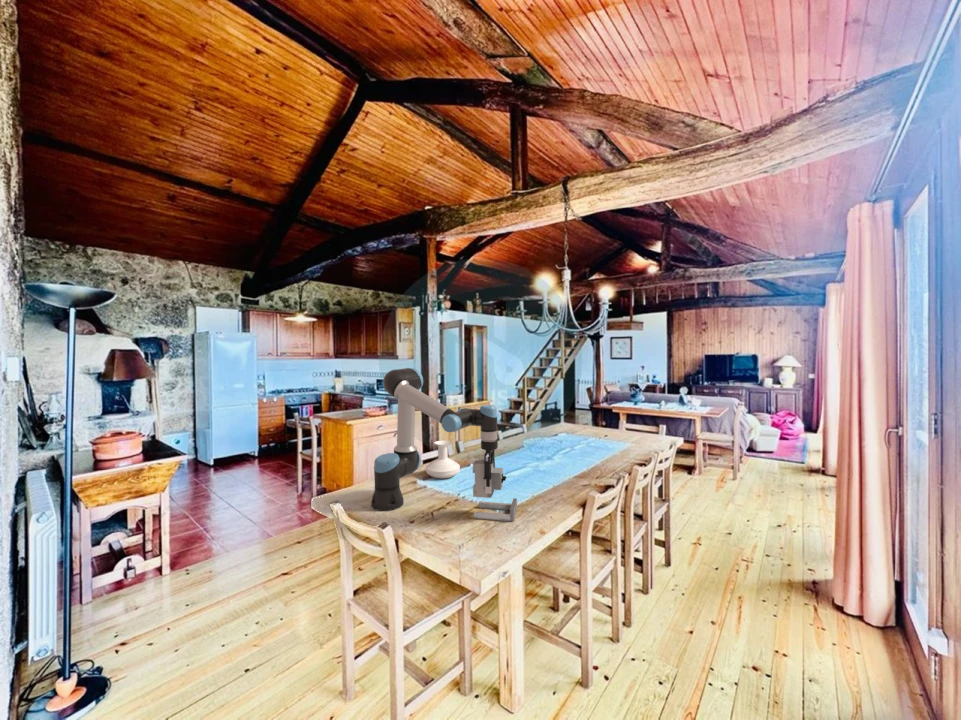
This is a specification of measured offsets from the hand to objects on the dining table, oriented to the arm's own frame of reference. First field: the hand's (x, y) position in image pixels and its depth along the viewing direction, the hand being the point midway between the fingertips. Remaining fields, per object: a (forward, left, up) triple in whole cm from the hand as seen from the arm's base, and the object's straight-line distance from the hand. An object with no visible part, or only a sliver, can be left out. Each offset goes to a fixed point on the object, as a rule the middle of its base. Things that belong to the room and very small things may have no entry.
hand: (490, 489), depth 184 cm
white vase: (-36, +47, -11) cm, 60 cm away
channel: (+2, 0, -11) cm, 11 cm away
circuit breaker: (0, 0, -2) cm, 2 cm away
